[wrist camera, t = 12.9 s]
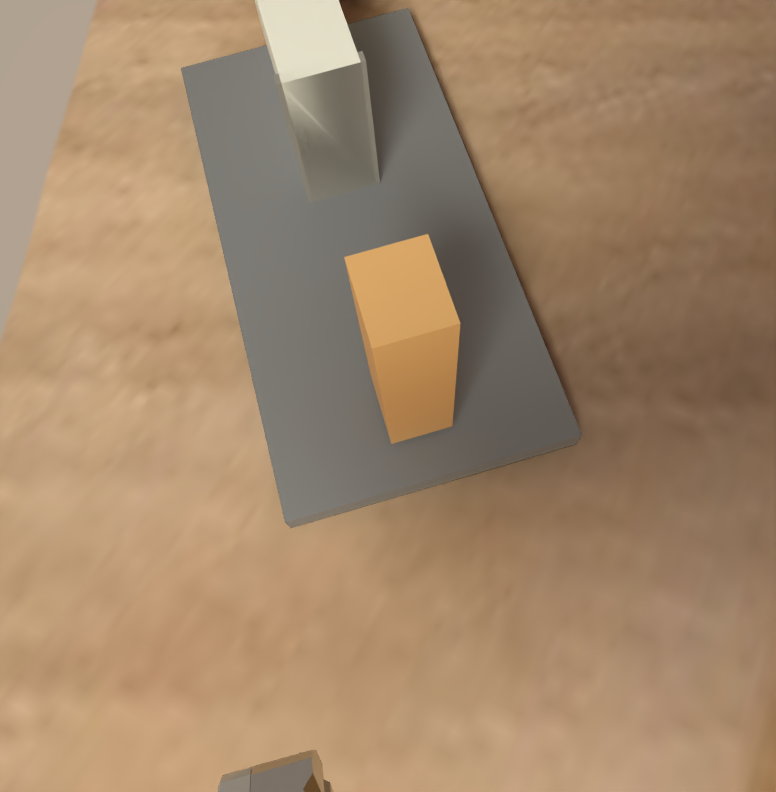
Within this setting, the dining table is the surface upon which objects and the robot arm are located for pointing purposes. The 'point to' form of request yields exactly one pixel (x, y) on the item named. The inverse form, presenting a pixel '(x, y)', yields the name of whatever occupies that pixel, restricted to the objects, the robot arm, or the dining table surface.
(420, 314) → the tan wooden beam
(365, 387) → the grey base plate
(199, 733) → the dining table surface
